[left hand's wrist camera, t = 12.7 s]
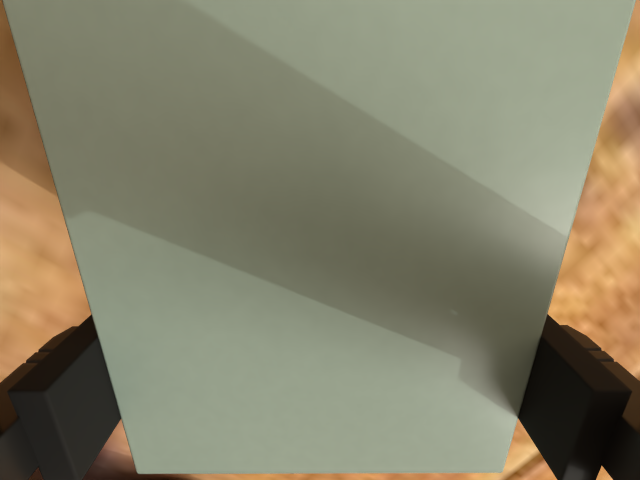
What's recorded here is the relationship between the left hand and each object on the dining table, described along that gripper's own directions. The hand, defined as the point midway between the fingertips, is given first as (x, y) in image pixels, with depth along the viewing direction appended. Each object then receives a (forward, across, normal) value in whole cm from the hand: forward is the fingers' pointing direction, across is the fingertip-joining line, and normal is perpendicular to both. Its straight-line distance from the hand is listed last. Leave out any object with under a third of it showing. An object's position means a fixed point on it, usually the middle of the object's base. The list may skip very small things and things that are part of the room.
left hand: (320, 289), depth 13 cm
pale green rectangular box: (+5, 0, -6) cm, 8 cm away
